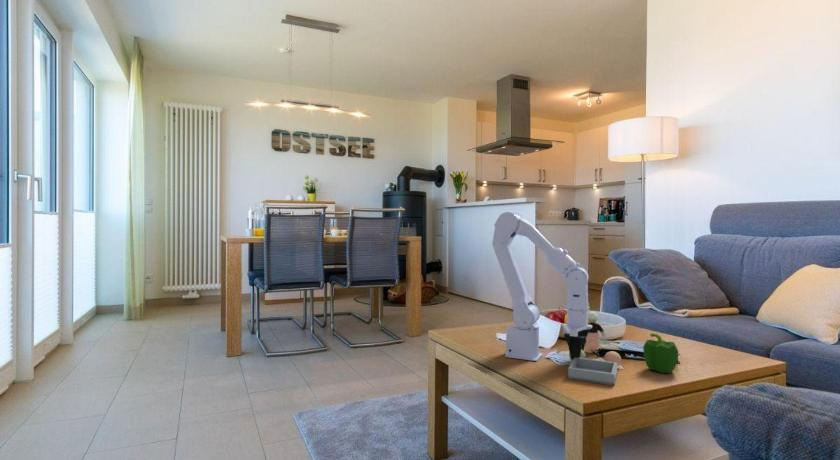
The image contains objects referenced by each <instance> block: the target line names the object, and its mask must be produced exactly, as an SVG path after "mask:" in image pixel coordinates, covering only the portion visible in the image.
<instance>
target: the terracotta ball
mask: <svg viewBox="0 0 840 460" xmlns="http://www.w3.org/2000/svg"><path fill="white" fill-rule="evenodd" d="M603 361H608V362H616V363H617V368H618V367H620V366H621V363H622V357H621V355H620V354H619V353H618V352H617V351H614V350H613V351H612V350H611V351H608V352H606V354H604V358H603Z"/></svg>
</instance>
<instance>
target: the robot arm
mask: <svg viewBox="0 0 840 460" xmlns="http://www.w3.org/2000/svg"><path fill="white" fill-rule="evenodd" d="M515 236H522V237H526V238H527V239H528V240H529V241H530V242H532V243H533V244H534V245H535V247H537V248H538V249H539V250H540V251H541V252H542V253H543V254H545V256H546V262H547V264H549V265H550V267H552V268H553V269H554V270H555V272H557V273H558V274H559V275H560V276H561V277H563V278H564V280H565V282H566V284H567V292H566V324H565V327H566V329H568V330H569V333H566V332H565V333H564V334H563V336H564V340H565V341H566V343H567V347H568V351H569V352H570V356H571V359H572V360H573V359H574V357H577V358H580V354H581V349H582V350H583V351H584V350H585V345H586V340H587V335H588V332H589V331H590V329H592V325H588V323H589V320H588V313H589V311H588V310H589V293H588V290H589V289H588V285H587V284H588V282H589V276H590V275H589V274H588V271H587V270H586V269H585V267H583V266H581V264H580V262H577V261H575V260H574V259H573V258H572V257H571V256H569V254H568V253H569V251H568V250H567V249H562V247H554V246H553V245H552V244H551V243H550V242H549V240H548V239H547V238H546V237H545V236H544V235H543V234H542V233H541V232H540V231H539V230H538V229H537V228H536V227H535V226H534V225H533V224H532V223H531V222H530V221H529V220H527V219H526V218H523V216H522V215H521V214H520V213H519V212H518V213H517V212H510V211H505V212H503V213H501V214H500V215H499V216H498V217H497V219H496V220H495V223H494V231H493V237H492V243H491V246H492V247H493V248H492V249H493V250H494V253H495V255H496V256H495V257H496V258H497V259H496V260H497V261H498V264H499V267H500V270H501V273H502V275H503V279H504V281H505V283H506V287H507V290H508V292H509V295H510V296H511V308H512V310H513V317H512V319H513V321H514V325H508V327H507V329H506V336H505V340H506V341H505V352H506V353H505V356H504V357H505V358H510V359H517V360H518V359H519V360H527V361H533V362H537V361H538V360H539V359H540V358H541V357H542V356H543V353H542V352H540V325H539V324H538V322H537V321H538V320H539V319H540V317H541V311H540V309H539V307H538V306H537V305H536V304H535V303H534V301H533V298H532V297H531V295H530V294H529V293H528V290H527V287H526V284H525V283H524V278H523V277H522V275H521V274H522V273H521V272H520V269H519V265H518V263H517V261H516V258H515V255H514V253H513V250H512V247H511V244H512V242H513V240H514V239H515ZM584 352H585V351H584ZM571 359H570V360H571Z"/></svg>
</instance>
